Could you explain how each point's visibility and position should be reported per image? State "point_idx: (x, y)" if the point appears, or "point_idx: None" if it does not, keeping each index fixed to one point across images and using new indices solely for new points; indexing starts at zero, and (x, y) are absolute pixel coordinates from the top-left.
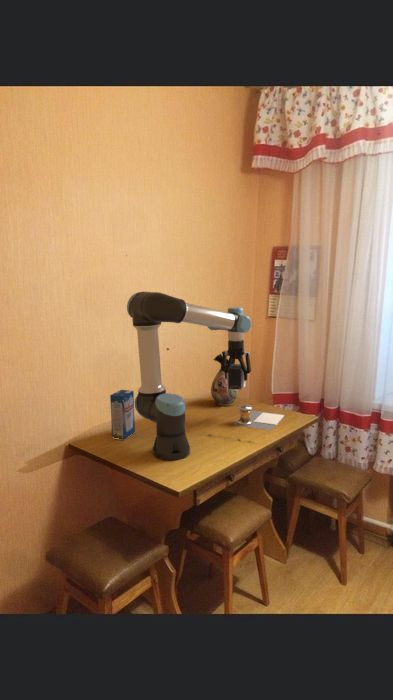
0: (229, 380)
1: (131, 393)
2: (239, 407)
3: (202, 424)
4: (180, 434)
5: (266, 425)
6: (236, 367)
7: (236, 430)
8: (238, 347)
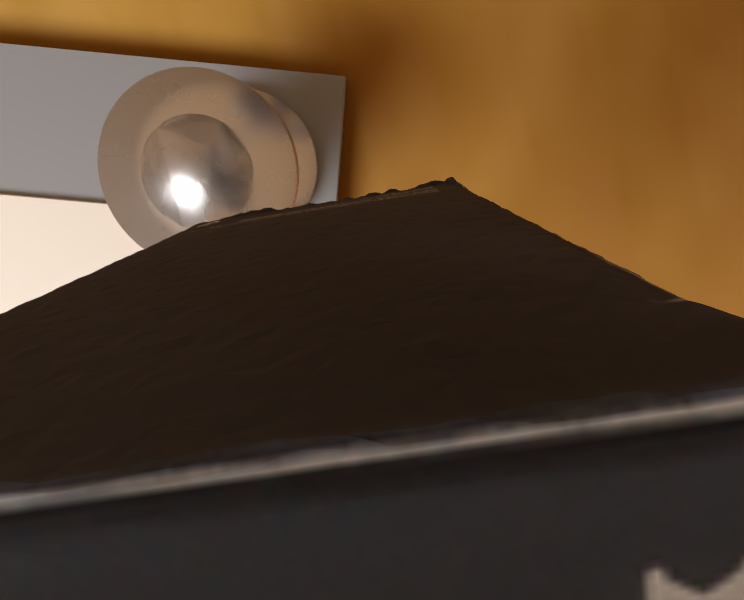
0: (471, 202)
1: None
2: (253, 110)
3: (648, 68)
4: None
5: (33, 156)
6: None
7: (288, 9)
8: None
